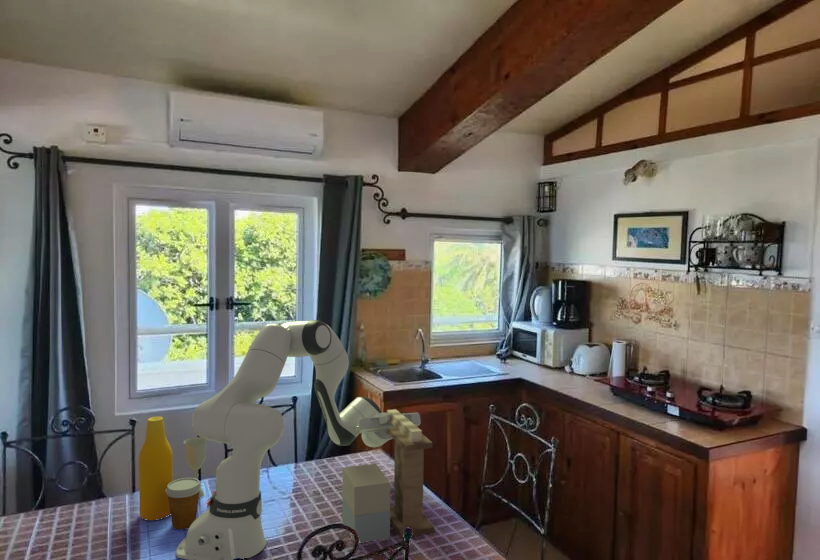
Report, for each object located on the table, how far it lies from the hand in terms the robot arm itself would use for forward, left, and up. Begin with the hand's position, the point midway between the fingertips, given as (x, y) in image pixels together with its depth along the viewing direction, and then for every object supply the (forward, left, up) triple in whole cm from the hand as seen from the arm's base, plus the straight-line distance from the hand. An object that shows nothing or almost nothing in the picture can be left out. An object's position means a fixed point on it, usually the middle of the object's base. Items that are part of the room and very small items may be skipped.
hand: (395, 416), depth 171 cm
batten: (+3, -6, -2) cm, 7 cm away
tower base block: (-7, -16, -28) cm, 33 cm away
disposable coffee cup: (-59, -19, -28) cm, 68 cm away
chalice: (-64, -1, -28) cm, 70 cm away
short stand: (+5, -11, -28) cm, 30 cm away
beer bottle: (-70, -14, -28) cm, 77 cm away
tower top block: (-7, -16, -20) cm, 27 cm away
